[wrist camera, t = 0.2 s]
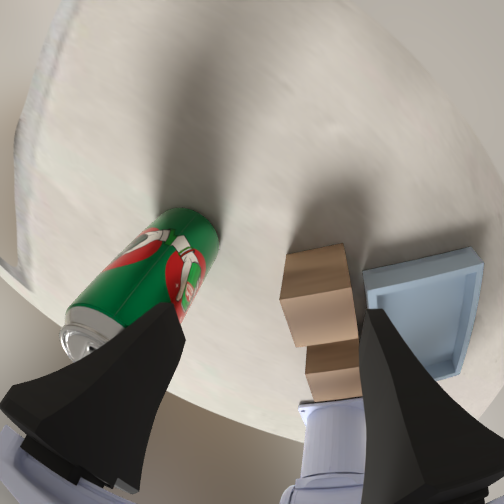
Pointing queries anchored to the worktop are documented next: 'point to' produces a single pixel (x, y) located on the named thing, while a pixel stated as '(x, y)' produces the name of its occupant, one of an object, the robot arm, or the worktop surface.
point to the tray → (431, 305)
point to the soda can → (142, 280)
